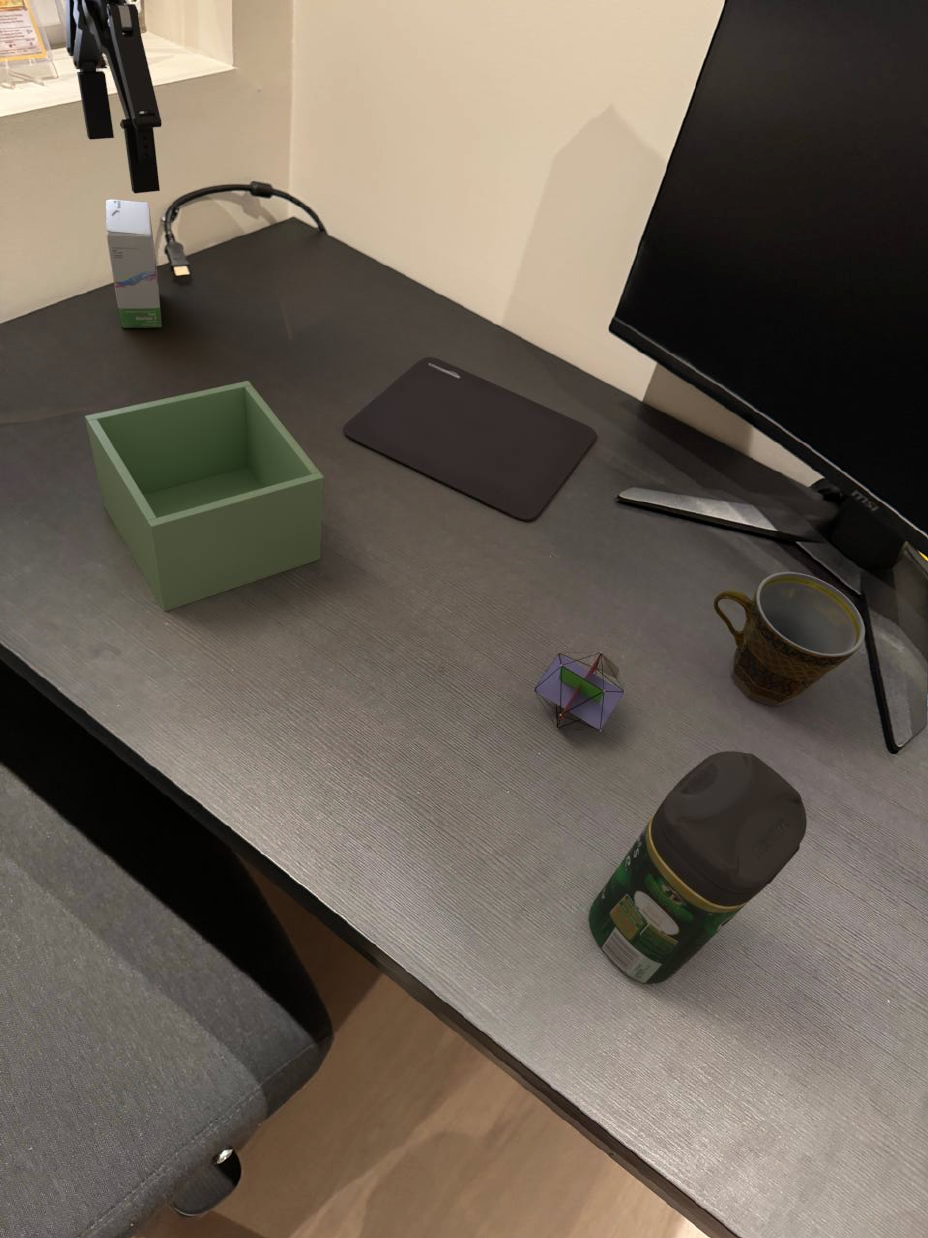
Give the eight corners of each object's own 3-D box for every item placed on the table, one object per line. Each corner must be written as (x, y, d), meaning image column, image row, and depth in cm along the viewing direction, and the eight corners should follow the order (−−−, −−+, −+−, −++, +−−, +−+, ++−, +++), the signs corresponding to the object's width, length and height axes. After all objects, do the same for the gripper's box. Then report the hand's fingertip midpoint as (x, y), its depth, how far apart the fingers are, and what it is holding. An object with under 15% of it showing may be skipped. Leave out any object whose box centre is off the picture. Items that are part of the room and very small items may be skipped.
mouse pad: (600, 432, 104) (600, 430, 104) (531, 525, 91) (531, 524, 91) (427, 354, 109) (427, 353, 109) (336, 432, 96) (337, 430, 96)
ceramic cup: (812, 658, 85) (863, 592, 78) (811, 735, 79) (867, 671, 71) (689, 617, 86) (728, 548, 79) (678, 690, 80) (719, 622, 72)
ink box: (163, 328, 104) (152, 234, 95) (120, 328, 102) (105, 232, 93) (159, 292, 109) (149, 199, 100) (118, 291, 107) (104, 197, 98)
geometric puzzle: (582, 759, 70) (630, 678, 68) (513, 715, 72) (558, 635, 70) (597, 741, 77) (641, 667, 75) (533, 702, 79) (575, 628, 77)
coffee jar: (643, 846, 68) (737, 718, 54) (721, 921, 65) (841, 805, 51) (565, 923, 63) (647, 802, 49) (646, 1008, 60) (758, 905, 46)
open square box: (102, 503, 83) (84, 415, 75) (250, 464, 90) (248, 380, 82) (164, 611, 76) (151, 526, 68) (320, 559, 83) (324, 476, 75)
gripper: (183, -38, 72) (201, 210, 88) (84, -117, 84) (116, 115, 100) (94, -41, 69) (130, 219, 85) (4, -123, 81) (50, 119, 97)
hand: (122, 163), depth 92 cm, fingers open, 13 cm apart
